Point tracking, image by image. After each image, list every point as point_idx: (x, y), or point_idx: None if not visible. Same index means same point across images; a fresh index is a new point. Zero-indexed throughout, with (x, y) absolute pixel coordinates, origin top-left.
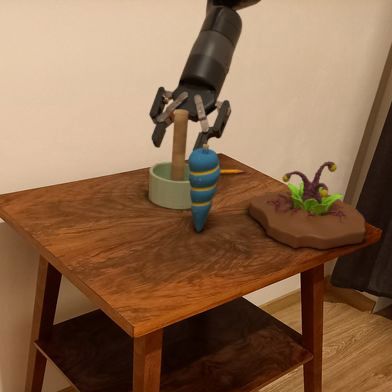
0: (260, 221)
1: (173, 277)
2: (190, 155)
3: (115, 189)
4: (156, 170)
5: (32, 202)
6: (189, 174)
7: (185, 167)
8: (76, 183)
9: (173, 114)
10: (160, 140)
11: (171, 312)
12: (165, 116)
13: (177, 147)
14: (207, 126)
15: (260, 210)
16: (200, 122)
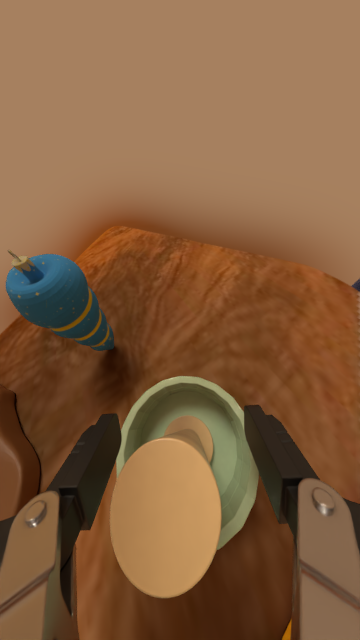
0: (17, 426)
1: (110, 265)
2: (72, 264)
3: (292, 400)
4: (246, 451)
5: (318, 293)
6: (90, 289)
7: None
8: (355, 377)
9: (296, 628)
10: (253, 445)
11: (99, 239)
12: (310, 533)
13: (177, 431)
14: (13, 537)
15: (4, 433)
16: (52, 559)
